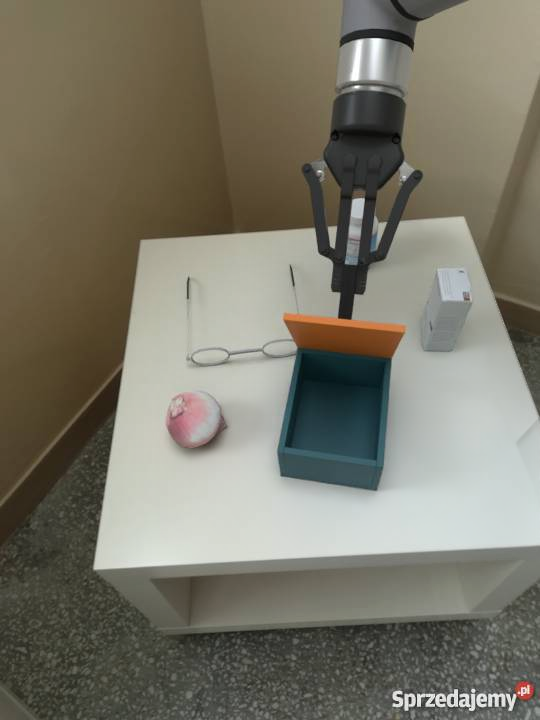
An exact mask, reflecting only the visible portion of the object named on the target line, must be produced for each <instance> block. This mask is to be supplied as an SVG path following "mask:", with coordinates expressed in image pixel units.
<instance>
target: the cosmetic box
mask: <svg viewBox="0 0 540 720" xmlns="http://www.w3.org/2000/svg"><path fill="white" fill-rule="evenodd" d="M430 287H431V288H430V290H429V294H428V296H427V300H426V303H425V306H424V310H423V313H422V315H421V319H420V329H421V330H420V332H421V341H422V347H423V350H424V351H426V352H427V351H428V352H452V351H453V349H454V347H455V344H456V342H457V339H458V337H459V335H460V333H461V331H462V328H463V326H464V324H465V322H466V320H467V317H468V315H469V313H470V310H471V309H472V306H473V303H474V296H473V292H472V282H471V280H470V276H469V270H468V268H467V267H444V268H443V267H441V268H440V267H439V268H437V269H436V272H435V274H434V278H433V281H432V284H431V286H430Z"/></svg>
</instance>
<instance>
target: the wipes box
mask: <svg viewBox="0 0 540 720" xmlns="http://www.w3.org/2000/svg"><path fill="white" fill-rule="evenodd" d="M296 348H297V349H296V350H297V353H295V359H294V364H293V369H292V373H291V380H290V383H289V390H288V394H287V399H286V404H285V409H284V415H283V421H282V425H281V429H280V436H279V440H278V446H277V450H276V453H277V460H278V466H279V468H278V469H279V475H280V477H284V478H291V479H296V480H303V481H310V482H317V483H323V484H328V485H335V486H343V487H347V488H356V489H362V490H368V491H373V492H374V491H375V492H377V491H378V489H379V485H380V481H381V478H382V474H383V471H384V464H385V452H386V451H385V450H386V441H387V439H386V438H387V427H388V426H387V424H388V415H389V414H388V413H389V402H390V401H389V400H390V388H391V387H390V386H391V374H392V372H391V371H392V361H393V357H392V358H384V357H375V356H366V355H358V354H349V353H340V352H331V351H323V350H314V349H305V348H298V347H296Z"/></svg>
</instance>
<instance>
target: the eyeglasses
mask: <svg viewBox="0 0 540 720" xmlns="http://www.w3.org/2000/svg"><path fill="white" fill-rule="evenodd" d="M289 270H290V277H291V283H292V287H293V292H294V298H295V303H296V310H297V314H300V313H299V306H298V299H297V293H296V288H295V286H296V285H295V284H296V283H295V278H294V271H293V267H292V264H289ZM189 283H190V276H187V280H186V300H187V302H186V304H187V305H186V306H187V308H186V309H187V318H189V299H190V284H189ZM281 342H291V343H292V342H293V343H295V342H294V340H293V338H280V339H274V340H270V341H268V342H265V343H264V344H263V345H262V346H261V347H259V348H249V349H248V348H247V349H240V350H233V351H229V350H227V348H224V347H216V346H215V347H214V346H213V347H205V348H199V349H197V350H195V351H193V352H192V353H191V356H189V355H186V357H185V361H191V362H192V363H193V364H195V365H196V366H202V367H207V366H216V365H221V364H224V363H225V362H227V361H228V360H229V359H230V357H231V356H232V355H233V356H234V355H241V354H242V355H243V354H250V353H259V352H261V353H262V354H263V355H265V356H267V357H270V358H284V357H289V356H293V355H296V353H297V349H296V350H293V351H291V352H288V353H282V354H271V353H267V352H265V351H264V350H265V347H267V346H269V345H271V344H274V343H275V344H276V343H281ZM205 351H206V352H207V351H223V352H225V353H226V354H227V357H226V358H224V359H222V360H219V361H216V362H215V361H214V362H198V361H196V360H194V355H197V354H198V353H200V352H205Z"/></svg>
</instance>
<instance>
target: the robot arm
mask: <svg viewBox="0 0 540 720" xmlns="http://www.w3.org/2000/svg"><path fill="white" fill-rule="evenodd" d="M468 1H469V0H342V9H341V11H342V12H341V22H340V31H339V32H340V33H339V48H338V51H337V60H336V71H335V72H336V73H335V80H334V81H335V82H334V83H335V84H334V92H335V94H336V95H337V96H336V97H335V99H334V100H333V101H332V111H331V119H330V120H331V121H330V131H329V139H328V142H327V144H326V146H325V147H324V149H323V153H322V156H321V157H319V158H317V159H316V160H314V161H312V162H311V163H309V162H306V163H304V164H303V165H302V167H301V173H302V175H303V177H304V179H305V180H306V182H307V184H308V186H309V194H310V200H311V209H312V216H313V224H314V232H315V238H316V239H315V240H316V246H317V252H318V254H319V255H320V256H322V257H325V258H326V259H329V260H330V261H331V263H332V272H331V274H332V275H331V283H330V290H331V292H332V293H337V294H339V304H338V310H337V311H338V312H337V318H338V319H348V320H353V310H354V304H355V295H358V296H364V294H365V292H366V289H367V280H368V274H369V273H368V272H369V268H370V267H371V266H372V265H373V264H374V263H378V262H383V261H384V260H386V258H387V256H388V254H389V251H390V249H391V246H392V243H393V240H394V238H395V235H396V232H397V230H398V227H399V224H400V222H401V219H402V217H403V214H404V211H405V208H406V207H407V204H408V201H409V199H410V197H411V194H412V193H413V192H414V190H415V189H416V188H417V187H418V185H420V183H421V181H422V180H423V178H424V172H423V171H422V170H420V169H415V168H414V167H412V165H410V164H409V163H408V162H406V160H405V158H406V157H405V152H404V150H403V146H402V141H403V136H404V135H403V134H404V128H405V127H404V126H405V118H406V113H407V112H406V110H407V103H406V101H405V100H404V98H405V97H406V96H407V95H408V93H409V86H410V80H411V73H412V65H413V56H414V49H415V37H416V32H417V25H418V24H419V22H423V21H425V20H427V19H430V18H432V17H434V16H436V15H437V14H440V13H442V12H445V11H447V10H450V9H451V8H454V7H456V6H458V5H459V6H460V5H461V4H464V3H466V2H468ZM326 168H328V170H329V173H331V175H332V177H333V179H334V180H335V182H336V184H337V186H338V187H339V188H340V196H339V197H340V198H339V206H338V216H337V225H336V234H335V242H334V243H335V244H334V247H332V246H331V240H330V234H329V226H328V225H329V224H328V218H327V211H326V210H327V209H326V201H325V193H324V188H323V184H322V182H323V181H324V180H325V179H326V173H325V170H326ZM397 172H398V173H399V176H398V179H397V185H398V186H399V187H400V188H399V190H398V193H397V195H396V197H395V200H394V202H393V205H392V207H391V210H390V213H389V216H388V219H387V221H386V224H385V227H384V230H383V232H382V235H381V237H380V240H379V243H378V244H377V245H378V246H377V247H376V251H373V252H370V249H371V240H372V232H373V224H374V215H375V216H376V211H375V207H376V206H377V199H378V198H377V197H378V192H379V191H381V190H382V189H383V188H385V186H386V185H387V184H388V182H389V181H390V180H391V179H392V178H393V177H394V175H395V174H396V173H397ZM359 191H360V192H364V199H365V201H364V210H363V218H362V227H361V236H360V245H359V253H358V263H357V265H350V264H345V260H346V253H347V244H348V235H349V227H350V218H351V209H352V201H353V200H354V192H359ZM372 263H373V264H372ZM371 264H372V265H371ZM370 265H371V266H370ZM369 266H370V267H369ZM368 267H369V268H368Z"/></svg>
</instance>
